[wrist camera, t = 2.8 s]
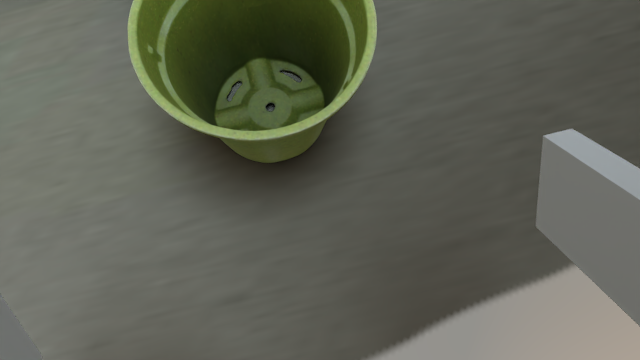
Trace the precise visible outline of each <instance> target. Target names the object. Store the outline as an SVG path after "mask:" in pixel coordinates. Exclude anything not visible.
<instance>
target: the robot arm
mask: <svg viewBox="0 0 640 360" xmlns="http://www.w3.org/2000/svg"><path fill="white" fill-rule="evenodd" d="M536 227H537V228H538V229H539V230H540V231H541V232H542V233H543V234H544V235H545V236H546V237H547V238H548V239H549V240H550V241H551V242H552V243H553V244H554V245H555V246H557V247H558V248H559V249H560V250H561V251H562V252H563V253H564V254H565V255H566V256H567V257H568V258H569V259H570V260H571V261H572V262H573V263H574V264H575V265H576V266H577V267H578V268H580V269H581V270H582V271H583V272H584V273H585V274H586V275H587V276H588V277H589V278H590V279H591V280H592V281H593V282H594V283H595V284H596V285H597V286H598V287H599V288H600V289H601V290H602V291H604V292H605V293H606V294H607V295H608V296H609V297H610V298H611V299H612V300H613V301H614V302H615V303H616V304H617V305H618V306H619V307H620V308H621V309H622V310H623V311H624V312H625V313H627V314H628V315H629V316H630V317H631V318H632V319H633V320H634V321H635V322H636V323H637V324H638V325H639V326H640V168H638V167H636V166H634V165H633V164H631V163H629V162H628V161H626V160H624V159H623V158H621V157H619V156H618V155H616V154H614V153H612V152H611V151H609V150H607V149H606V148H604V147H602V146H601V145H599V144H597V143H596V142H594V141H592V140H590V139H589V138H587V137H585V136H584V135H582V134H580V133H579V132H577V131H575V130H574V129H568V130H564V131H560V132H556V133H552V134H548V135H544V136H543V143H542V155H541V167H540V179H539V191H538V203H537V215H536ZM42 358H43V356H42V355H41V353H40V352H39V350H38V349H37V347H36V346H35V344H34V343H33V341H32V340H31V338H30V337H29V335H28V334H27V333H26V331H25V330H24V328H23V327H22V325H21V324H20V322H19V321H18V319H17V318H16V316H15V315H14V313H13V312H12V310H11V309H10V307H9V306H8V304H7V303H6V302H5V300H4V299H3V297H2V296H1V294H0V360H42Z"/></svg>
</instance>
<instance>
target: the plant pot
mask: <svg viewBox="0 0 640 360" xmlns="http://www.w3.org/2000/svg"><path fill="white" fill-rule="evenodd" d="M376 38H377V21H376V12H375V7H374V3H373V0H134V1H133V3H132V6H131V10H130V14H129V19H128V46H129V53H130V57H131V62H132V64H133V67H134V70H135V72H136V74H137V76H138V79H139V81H140V82H141V84H142V86H143V87H144V88H145V90H146V92H147V93H148V94H149V95H150V97H151V98H152V99H153V100H154V101H155V102H156V103H157V104H158V105H159V106H160V107H161V108H162V109H163V110H164V111H165V112H167V113H168V114H169V115H170V116H172V117H173V118H174V119H176V120H177V121H179V122H180V123H182V124H184V125H186V126H188V127H190V128H191V129H194V130H196V131H199V132H201V133H204V134H207V135H210V136H213V137H217V138H220V139H221V140H222V141H223V142H224V143H225V144H226V145H228V146H229V147H230V148H231V149H232V150H234V151H235V152H236V153H238V154H239V155H241V156H243V157H245V158H247V159H250V160H253V161H257V162H263V163H273V162H279V161H283V160H287V159H290V158H292V157H295V156H298V155H300V154H301V153H303V152H304V151H306V150H307V149H308V148H309V147H310V146H311V145H312V144H313V143H314V142H315V141H316V139H317V138H318V136H319V135H320V133H321V131H322V129H323V127H324V125H325V123H326V121H327V119H329V118H330V117H332V116H333V115H334V114H335V113H337V112H338V111H339V110H340V109H341V108H342V107H343V106H344V105H345V104H346V103H347V102H348V101H349V100H350V99H351V98H352V96H353V95H354V94H355V93H356V91H357V90H358V88H359V87H360V85H361V84H362V82H363V80H364V78H365V76H366V74H367V72H368V69H369V67H370V64H371V61H372V58H373V55H374V51H375V46H376ZM282 70H286V71H291V72H293V73H296V74H297V75H298V76H300V78H301V79H302V81H301V82H300V83H298V82H296V81H295V80H294V79H292V78H290V77H289V76H287V75H284V73H280V71H282ZM237 81H241V82H242V85H241V86H240V87H239V89H238V90H237V91H236V93H235V95H234V96H233V98H232V101H228V100H227V96H228V94H229V92H230V91H231V88H232V86H233V85H234V84H235V83H236V82H237ZM268 103H273V104H274V105H275V109H274V110H273V111H271V112H270V111H267V110H266V106H267V104H268Z"/></svg>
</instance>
